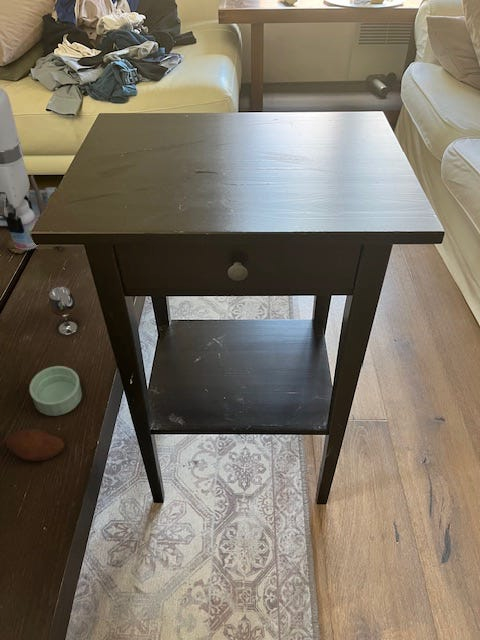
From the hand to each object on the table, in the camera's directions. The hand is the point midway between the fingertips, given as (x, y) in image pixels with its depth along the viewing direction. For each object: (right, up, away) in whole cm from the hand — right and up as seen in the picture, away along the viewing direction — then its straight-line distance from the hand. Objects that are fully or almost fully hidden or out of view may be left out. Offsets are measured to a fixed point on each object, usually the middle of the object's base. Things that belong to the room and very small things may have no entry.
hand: (21, 222), depth 115 cm
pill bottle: (0, -4, +4) cm, 6 cm away
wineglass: (+7, -25, +10) cm, 28 cm away
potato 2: (+9, -50, -14) cm, 53 cm away
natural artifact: (-3, +12, +27) cm, 30 cm away
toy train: (-14, +10, +31) cm, 35 cm away
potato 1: (-8, -2, +27) cm, 28 cm away
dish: (+10, -40, -5) cm, 42 cm away
